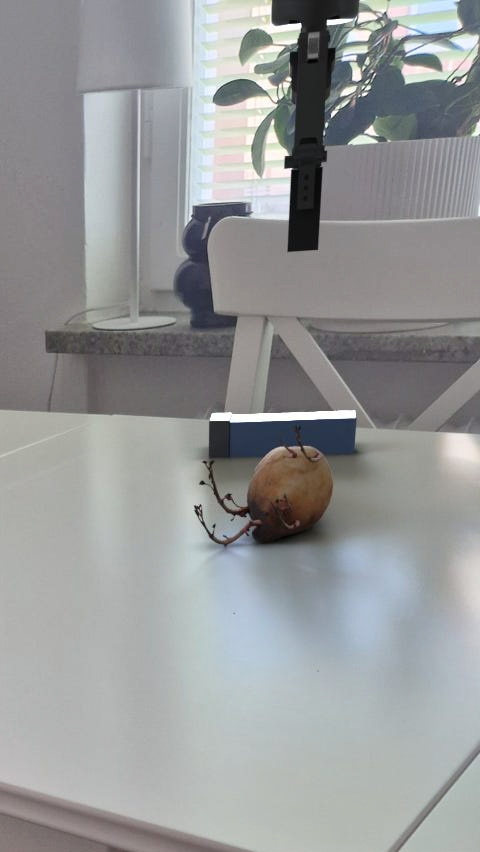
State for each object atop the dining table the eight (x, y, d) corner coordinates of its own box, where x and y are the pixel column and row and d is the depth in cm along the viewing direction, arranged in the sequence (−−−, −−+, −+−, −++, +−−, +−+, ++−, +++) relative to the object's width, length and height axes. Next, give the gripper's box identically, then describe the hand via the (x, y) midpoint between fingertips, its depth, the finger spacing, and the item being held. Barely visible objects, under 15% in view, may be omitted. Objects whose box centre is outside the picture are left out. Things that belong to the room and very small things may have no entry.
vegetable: (181, 465, 102) (239, 356, 96) (290, 521, 103) (354, 416, 98) (172, 525, 89) (238, 404, 84) (297, 588, 90) (371, 472, 85)
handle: (352, 448, 116) (355, 408, 114) (353, 456, 113) (357, 415, 111) (211, 452, 120) (212, 413, 118) (208, 460, 116) (209, 420, 114)
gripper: (274, -11, 112) (265, 238, 122) (269, -45, 91) (258, 258, 102) (356, -20, 110) (339, 233, 121) (369, -57, 89) (347, 253, 100)
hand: (302, 245), depth 111 cm, fingers open, 13 cm apart
